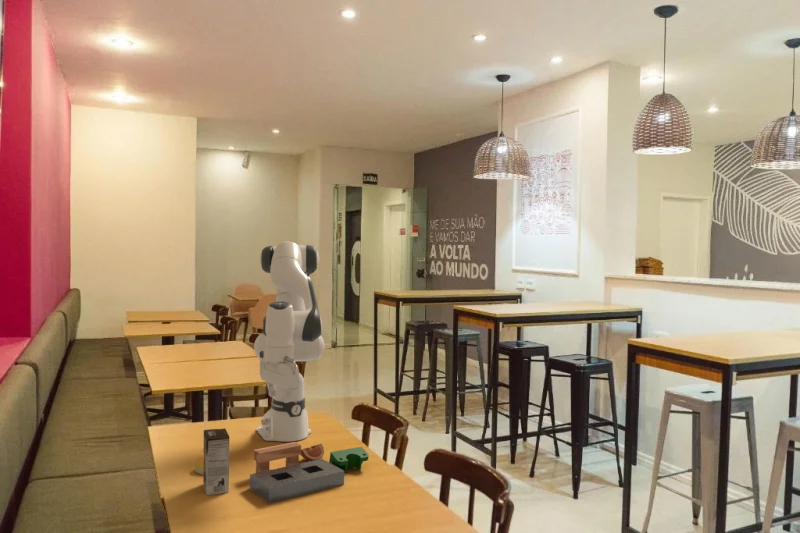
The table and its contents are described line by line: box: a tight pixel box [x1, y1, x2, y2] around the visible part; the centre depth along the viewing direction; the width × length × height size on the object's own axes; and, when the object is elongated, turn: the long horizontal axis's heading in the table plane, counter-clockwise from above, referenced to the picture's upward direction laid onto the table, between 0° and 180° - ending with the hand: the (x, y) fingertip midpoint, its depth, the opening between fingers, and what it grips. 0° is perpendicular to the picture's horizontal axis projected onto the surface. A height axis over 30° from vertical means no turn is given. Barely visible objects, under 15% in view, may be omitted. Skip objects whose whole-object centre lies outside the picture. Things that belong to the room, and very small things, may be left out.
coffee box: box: [202, 428, 230, 496], centre depth 174 cm, size 9×6×16 cm
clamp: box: [328, 446, 370, 474], centre depth 191 cm, size 12×6×9 cm, turn 116°
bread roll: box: [194, 458, 204, 476], centre depth 188 cm, size 8×9×4 cm
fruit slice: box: [300, 443, 325, 462], centre depth 198 cm, size 8×7×5 cm
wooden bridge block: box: [253, 441, 302, 473], centre depth 187 cm, size 4×14×8 cm, turn 128°
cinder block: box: [249, 458, 345, 504], centre depth 176 cm, size 13×24×4 cm, turn 128°
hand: (278, 399), depth 186 cm, fingers open, 8 cm apart
